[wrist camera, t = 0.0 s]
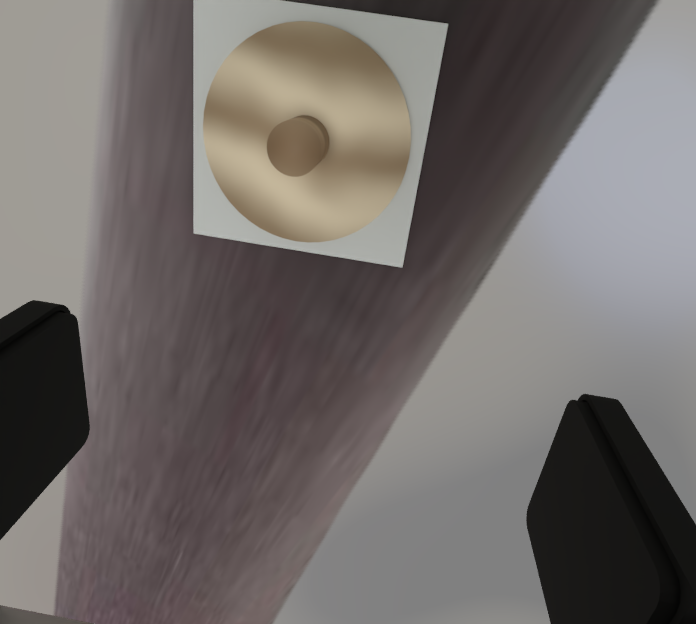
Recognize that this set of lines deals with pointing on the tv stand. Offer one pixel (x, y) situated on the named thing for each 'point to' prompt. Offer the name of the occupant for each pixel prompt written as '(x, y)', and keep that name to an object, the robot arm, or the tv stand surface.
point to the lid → (307, 131)
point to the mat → (400, 56)
